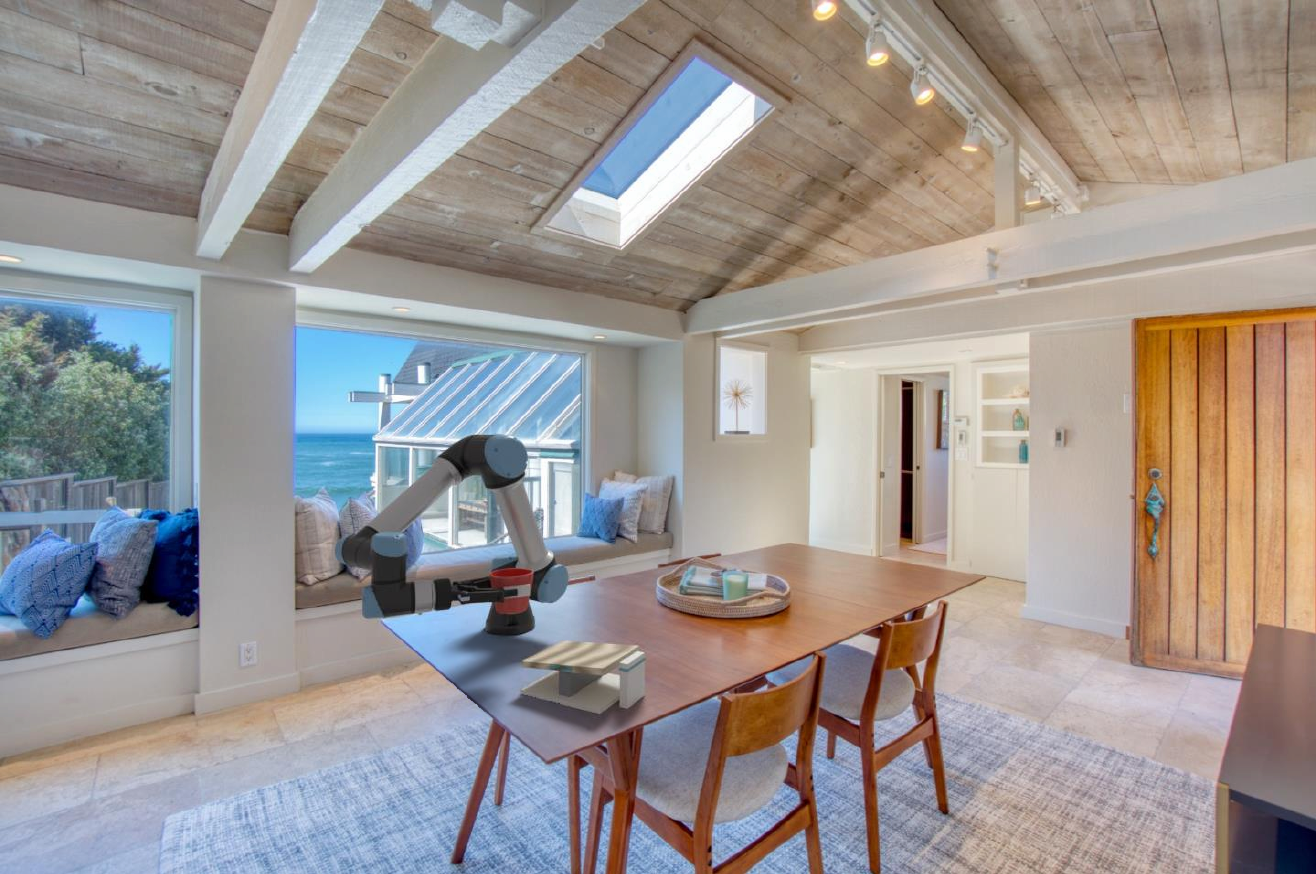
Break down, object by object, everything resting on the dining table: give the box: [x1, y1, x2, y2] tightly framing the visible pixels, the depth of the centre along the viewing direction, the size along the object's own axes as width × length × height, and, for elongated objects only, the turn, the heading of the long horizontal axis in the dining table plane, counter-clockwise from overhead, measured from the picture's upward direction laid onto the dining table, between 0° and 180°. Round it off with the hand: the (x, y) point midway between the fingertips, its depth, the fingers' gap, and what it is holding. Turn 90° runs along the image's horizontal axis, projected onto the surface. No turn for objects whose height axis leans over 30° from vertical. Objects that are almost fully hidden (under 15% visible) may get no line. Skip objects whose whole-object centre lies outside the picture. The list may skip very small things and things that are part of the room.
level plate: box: [521, 639, 641, 675], centre depth 143 cm, size 23×16×2 cm
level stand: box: [520, 650, 646, 715], centre depth 142 cm, size 26×18×10 cm
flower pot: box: [489, 568, 534, 614], centre depth 152 cm, size 11×11×10 cm
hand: (524, 585), depth 154 cm, fingers closed on flower pot, 10 cm apart
